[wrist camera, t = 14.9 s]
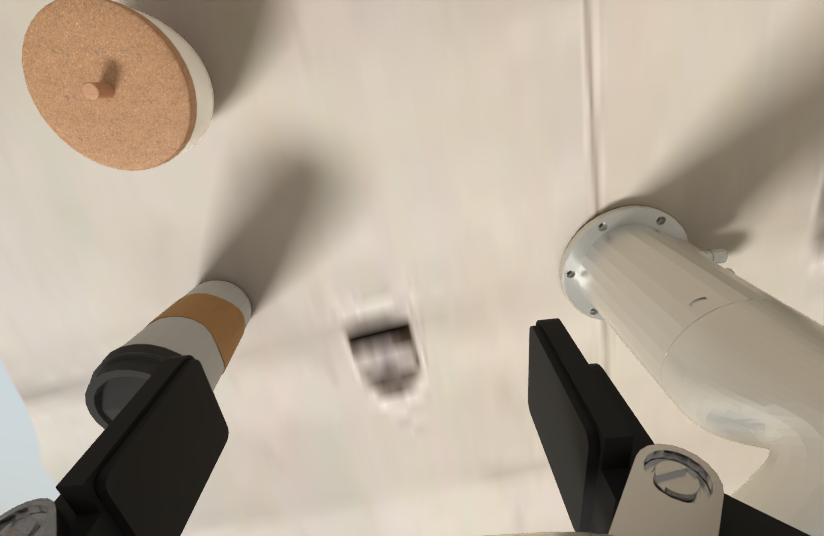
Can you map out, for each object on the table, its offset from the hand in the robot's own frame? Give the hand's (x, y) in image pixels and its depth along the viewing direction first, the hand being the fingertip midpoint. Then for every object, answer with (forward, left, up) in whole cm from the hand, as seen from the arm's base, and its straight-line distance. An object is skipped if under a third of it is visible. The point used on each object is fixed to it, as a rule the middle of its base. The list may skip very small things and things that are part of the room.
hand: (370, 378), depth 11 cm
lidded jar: (+18, -9, -28) cm, 35 cm away
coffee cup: (+20, +12, -28) cm, 37 cm away
